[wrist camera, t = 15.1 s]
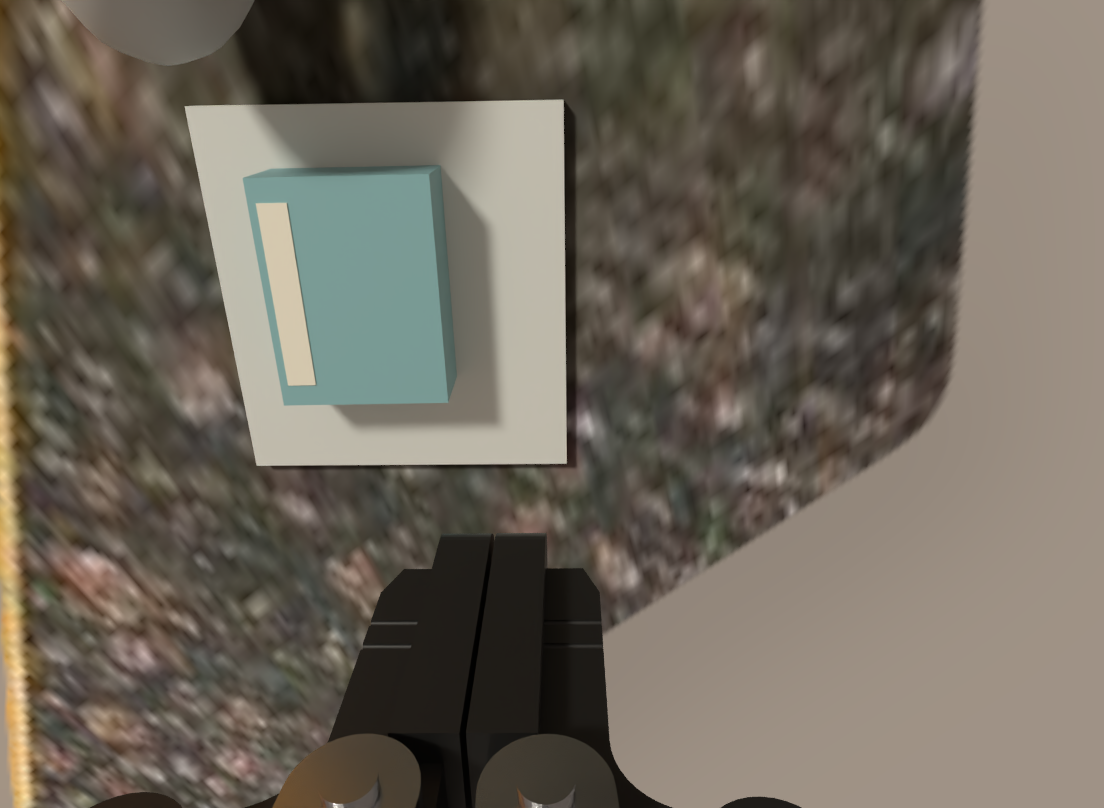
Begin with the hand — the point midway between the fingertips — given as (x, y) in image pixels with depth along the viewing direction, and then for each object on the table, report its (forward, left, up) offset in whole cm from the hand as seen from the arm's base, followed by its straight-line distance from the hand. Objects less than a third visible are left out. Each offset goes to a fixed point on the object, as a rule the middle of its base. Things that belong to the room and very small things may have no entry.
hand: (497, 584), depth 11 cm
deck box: (0, -3, -17) cm, 17 cm away
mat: (+1, -6, -19) cm, 20 cm away
